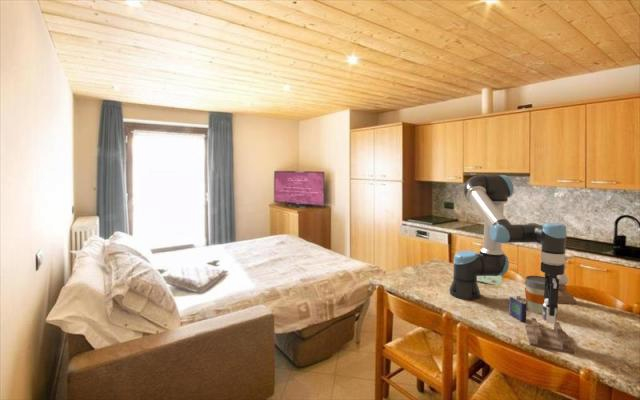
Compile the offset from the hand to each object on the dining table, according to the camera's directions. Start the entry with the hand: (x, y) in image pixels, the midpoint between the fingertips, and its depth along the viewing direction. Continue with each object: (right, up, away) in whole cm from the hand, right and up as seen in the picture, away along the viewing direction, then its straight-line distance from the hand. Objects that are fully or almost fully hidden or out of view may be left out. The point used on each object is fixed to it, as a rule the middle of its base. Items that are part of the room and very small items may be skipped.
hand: (549, 319), depth 128 cm
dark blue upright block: (-1, -7, +19) cm, 20 cm away
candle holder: (+33, -4, +39) cm, 52 cm away
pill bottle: (0, -1, 0) cm, 1 cm away
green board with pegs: (+13, -2, +73) cm, 74 cm away
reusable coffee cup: (+14, -6, +27) cm, 31 cm away
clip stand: (0, -8, +1) cm, 8 cm away
